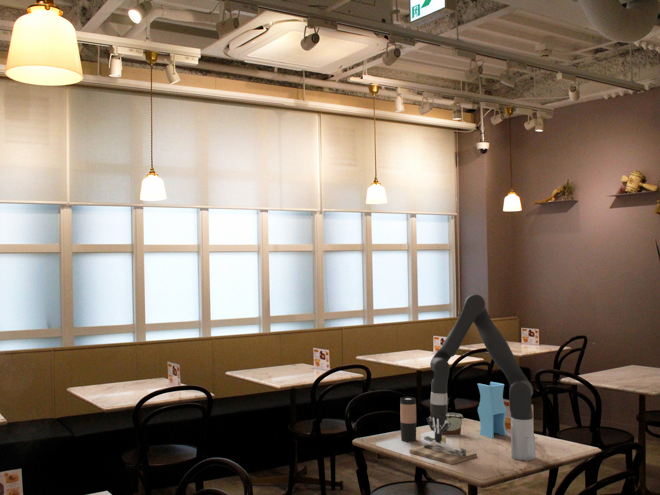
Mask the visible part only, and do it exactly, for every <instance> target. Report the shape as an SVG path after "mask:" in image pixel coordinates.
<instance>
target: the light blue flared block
mask: <svg viewBox="0 0 660 495" xmlns="http://www.w3.org/2000/svg"><path fill="white" fill-rule="evenodd" d="M477 387H478V390H479V395H480V398H479V405H478V407H477V413H478V417H479V421H480V423H479V424H480V429H479V435H480V436H484V437H486V436H487V438H491V439H494V435H495V434H497V433H498V434H497V435H501V436H505V437H506V435H507V436H508V434H507V431H506V426H505V425H506V417H507V413H508V412H507V408H506V405H505V402H504V397H503V396H504V387H505V384H504V383H500V382H494V381H490V383H489V385H487V384H483V383H477ZM499 400H500V401H499Z"/></svg>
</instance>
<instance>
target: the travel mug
mask: <svg viewBox="0 0 660 495" xmlns="http://www.w3.org/2000/svg"><path fill="white" fill-rule="evenodd" d="M399 403H400V404H399V405H400V411H399V412H400V415H399V416H400V419H399V420H400V440H401V441H403V442H409V443H410V442H411V443H412V442H415V441H417V398H415V397H413V396H402V397H400V401H399Z"/></svg>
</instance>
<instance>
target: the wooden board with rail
mask: <svg viewBox="0 0 660 495" xmlns="http://www.w3.org/2000/svg"><path fill="white" fill-rule="evenodd" d="M459 449H460V450H463V453H461V451H460V450H455V452H453V451H451V450H449V449H446V448H444V447H441V446H438V445H436V444H434V443H432V442H431V443H429V444H427V443H426V444H424V445H421V446H418V447H414V448H411V449H409V454H412V453H413V455H416V456H419V457H423V458H428V459H430V460H434V461H439V462H442V463H445V464H449V465H455V464H458V463H461V462H464V461H465V462H466V461H467V460H472V459H475V458H478V454H477V452H472V451H468V450H467V449H466V448H462V447H461V448H459Z"/></svg>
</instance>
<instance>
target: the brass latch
mask: <svg viewBox="0 0 660 495" xmlns="http://www.w3.org/2000/svg"><path fill="white" fill-rule="evenodd" d="M432 438H433V439H435V437H432ZM441 442H443V443H446V444H447V435H442V440H441ZM436 445H437V444H436ZM438 446H439V445H438Z"/></svg>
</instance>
